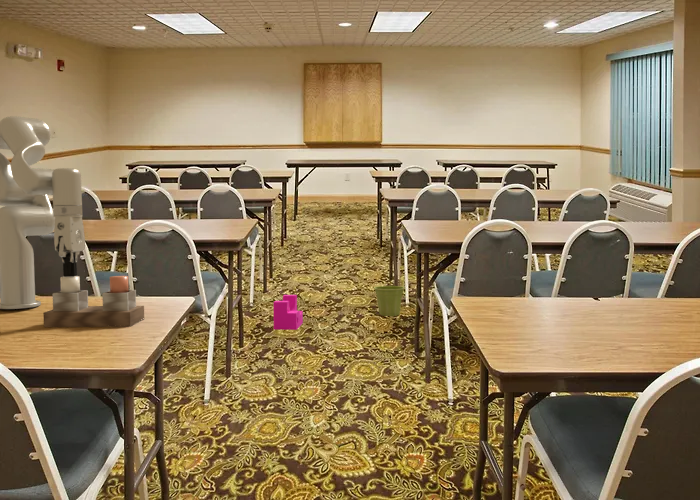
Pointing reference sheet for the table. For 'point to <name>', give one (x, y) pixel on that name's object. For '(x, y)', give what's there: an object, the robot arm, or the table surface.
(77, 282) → the plunger white
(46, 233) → the robot arm
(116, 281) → the plunger salmon pink
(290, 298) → the toy block
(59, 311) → the button box
